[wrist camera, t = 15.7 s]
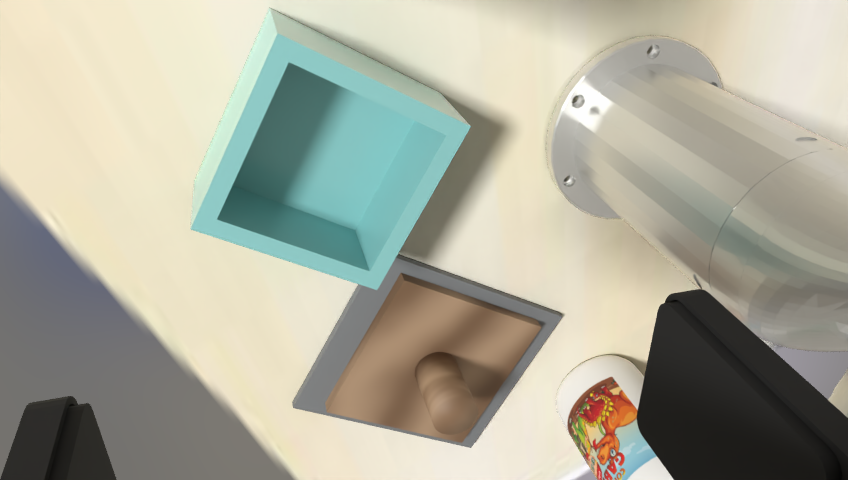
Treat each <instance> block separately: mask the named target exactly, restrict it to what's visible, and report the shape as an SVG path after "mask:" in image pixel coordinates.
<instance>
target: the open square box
mask: <svg viewBox="0 0 848 480" xmlns="http://www.w3.org/2000/svg"><path fill="white" fill-rule="evenodd" d="M470 127H471V126H470V125H469V124H468V123H467V121H466V120H465V119H464V118H463V117H462V116H461V115H460V114H459V113H458V112H457V111H456V109H455V108H454V107H453V106H452V105H451V104H450V103H449V102H448V101H447V100H446V99H445V97H444V96H443V95H442V94H441V93H440V92H438V91H436V90H434V89H432V88H430V87H428V86H426V85H424V84H422V83H420V82H418V81H416V80H414V79H412V78H410V77H408V76H406V75H404V74H402V73H400V72H398V71H396V70H394V69H392V68H390V67H388V66H385V65H383V64H381V63H379V62H377V61H375V60H373V59H371V58H369V57H367V56H365V55H363V54H361V53H359V52H357V51H355V50H353V49H351V48H349V47H347V46H345V45H343V44H341V43H339V42H337V41H335V40H333V39H331V38H329V37H327V36H325V35H323V34H321V33H319V32H317V31H315V30H313V29H311V28H309V27H307V26H305V25H303V24H301V23H299V22H297V21H295V20H293V19H291V18H289V17H287V16H285V15H283V14H281V13H279V12H277V11H275V10H273V9H271V8H269V10H268V12H267V15H266V17H265V19H264V21H263V24H262V26H261V28H260V31H259V33H258V35H257V38H256V40H255V42H254V44H253V47H252V49H251V51H250V54H249V56H248V58H247V61H246V63H245V65H244V68H243V70H242V72H241V74H240V77H239V79H238V81H237V84H236V86H235V88H234V91H233V93H232V95H231V97H230V100H229V102H228V104H227V107H226V109H225V111H224V114H223V116H222V118H221V121H220V123H219V125H218V127H217V130H216V132H215V134H214V137H213V139H212V141H211V144H210V146H209V148H208V150H207V153H206V155H205V157H204V160H203V162H202V164H201V167H200V169H199V171H198V173H197V176H196V178H195V180H194V189H193V202H192V216H191V230H194V231H197V232H200V233H204V234H207V235H210V236H213V237H216V238H219V239H222V240H225V241H228V242H231V243H234V244H237V245H240V246H243V247H246V248H249V249H253V250H256V251H259V252H262V253H265V254H268V255H271V256H274V257H277V258H280V259H283V260H286V261H289V262H292V263H295V264H298V265H301V266H305V267H308V268H311V269H314V270H317V271H320V272H323V273H326V274H329V275H332V276H335V277H338V278H341V279H344V280H347V281H350V282H354V283H357V284H360V285H363V286H366V287H369V288H372V289H375V290H377V289H378V288H379V286H380V284H381V283H382V281H383V279H384V277H385V276H386V274H387V272H388V270H389V269H390V267H391V265H392V263H393V262H394V260H395V258H396V256H397V255H398V253H399V251H400V249H401V248H402V246H403V244H404V242H405V241H406V239H407V237H408V235H409V234H410V232H411V230H412V229H413V227H414V225H415V223H416V222H417V220H418V218H419V216H420V215H421V213H422V211H423V209H424V208H425V206H426V204H427V202H428V201H429V199H430V197H431V195H432V194H433V192H434V190H435V188H436V187H437V185H438V183H439V181H440V180H441V178H442V176H443V175H444V173H445V171H446V169H447V168H448V166H449V164H450V162H451V161H452V159H453V157H454V155H455V154H456V152H457V150H458V148H459V147H460V145H461V143H462V141H463V140H464V138H465V136H466V134H467V133H468V131H469V129H470Z"/></svg>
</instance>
